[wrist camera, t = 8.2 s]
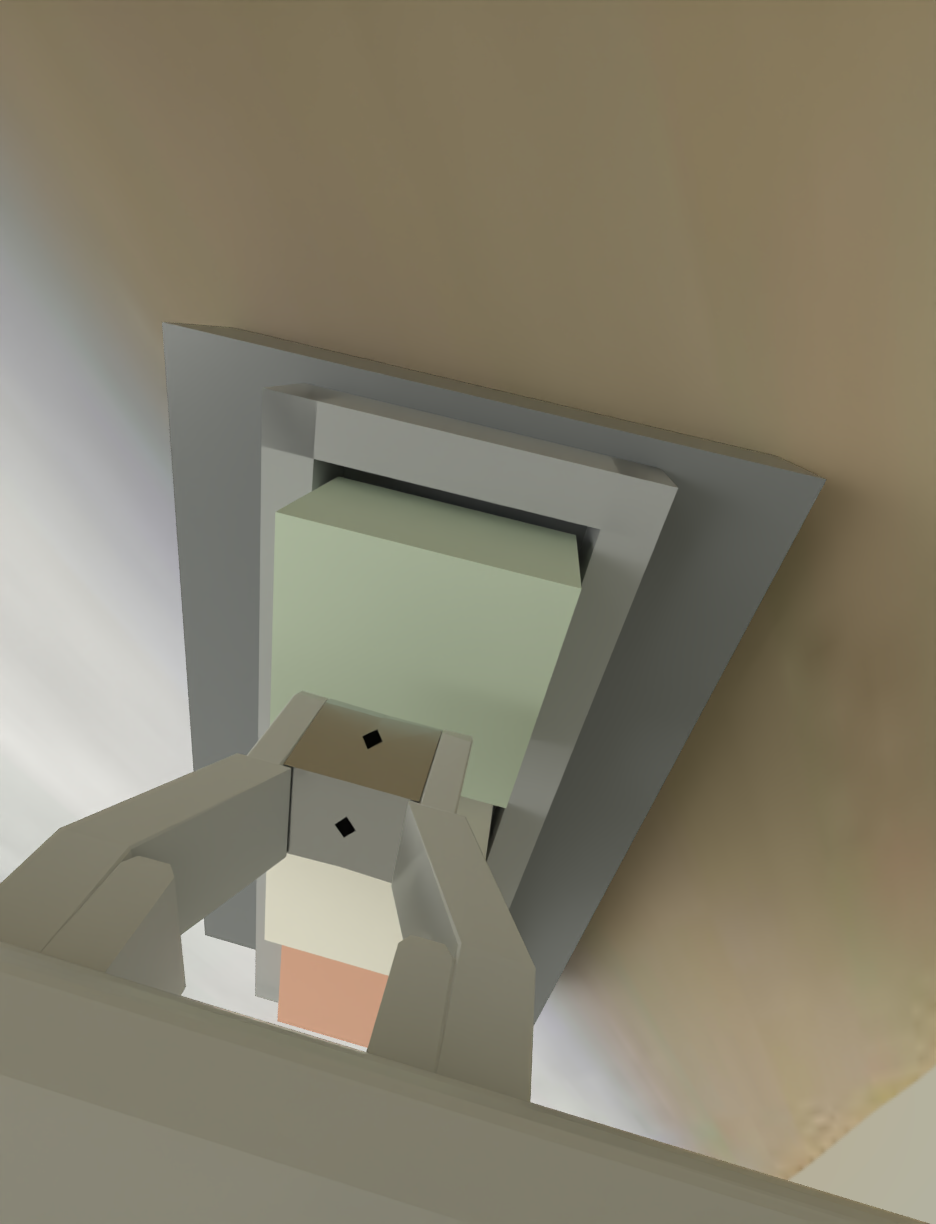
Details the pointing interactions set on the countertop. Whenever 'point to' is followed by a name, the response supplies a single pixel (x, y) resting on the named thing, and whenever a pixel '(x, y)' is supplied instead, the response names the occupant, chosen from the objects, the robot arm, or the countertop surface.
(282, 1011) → the terracotta key
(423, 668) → the sage key
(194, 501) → the keypad
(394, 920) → the cream key
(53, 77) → the countertop surface
